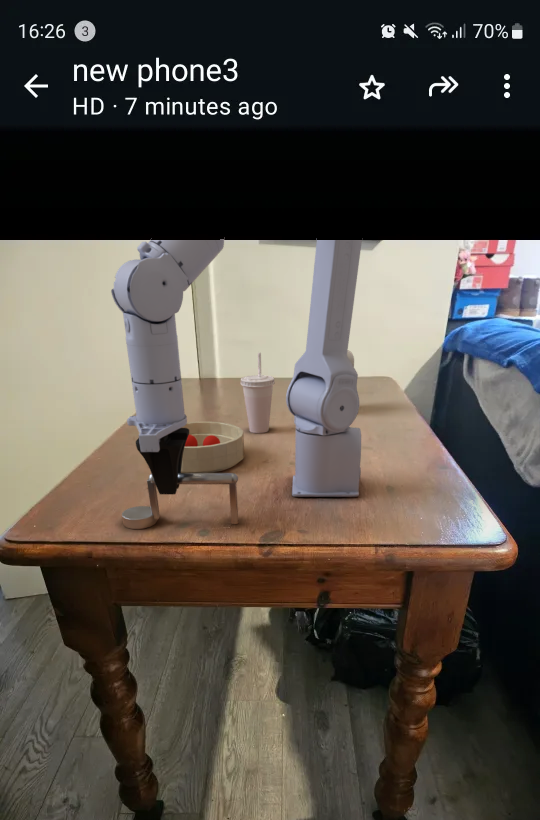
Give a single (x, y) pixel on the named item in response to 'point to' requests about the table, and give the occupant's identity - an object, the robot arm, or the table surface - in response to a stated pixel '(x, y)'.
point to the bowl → (213, 448)
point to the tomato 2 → (211, 440)
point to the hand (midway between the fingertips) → (169, 490)
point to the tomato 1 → (191, 441)
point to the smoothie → (258, 399)
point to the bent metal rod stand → (150, 515)
